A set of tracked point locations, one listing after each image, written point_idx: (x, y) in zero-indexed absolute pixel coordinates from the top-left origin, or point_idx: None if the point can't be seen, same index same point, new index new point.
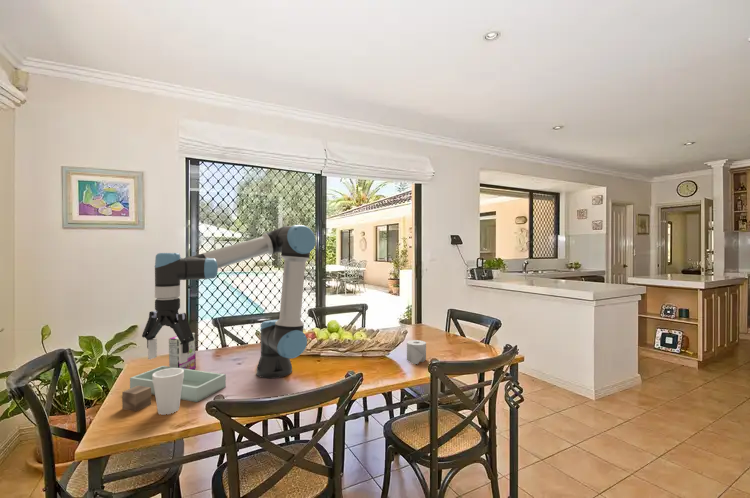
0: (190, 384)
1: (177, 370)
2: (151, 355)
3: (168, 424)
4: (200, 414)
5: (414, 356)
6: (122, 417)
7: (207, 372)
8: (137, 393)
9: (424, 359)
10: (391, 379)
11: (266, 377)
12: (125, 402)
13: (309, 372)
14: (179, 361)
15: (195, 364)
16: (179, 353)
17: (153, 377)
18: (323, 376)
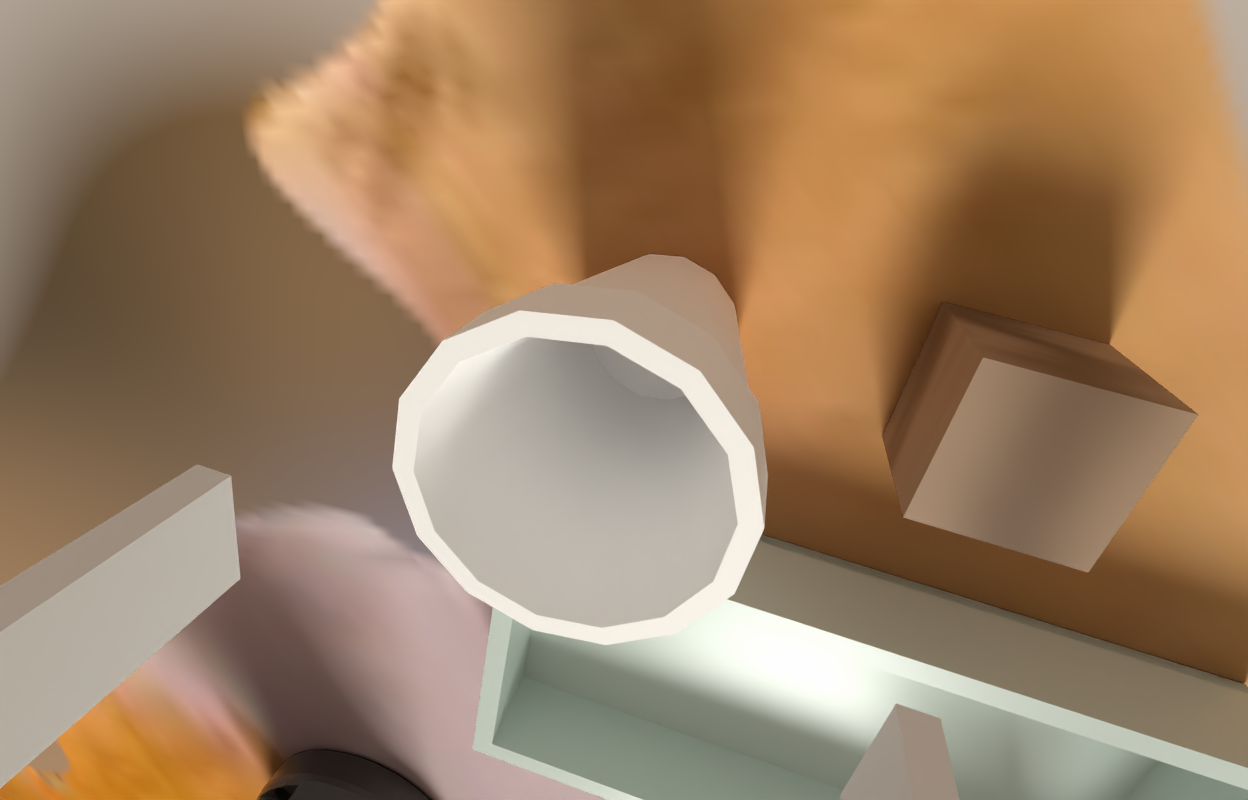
0: (753, 720)
1: (557, 600)
2: (889, 791)
3: (506, 91)
4: (394, 279)
5: None
6: (1001, 174)
7: (624, 797)
8: (971, 377)
9: None
10: None
11: (351, 758)
12: (1096, 357)
13: (203, 789)
14: (195, 493)
15: None
16: (52, 592)
17: (680, 351)
18: (114, 736)
